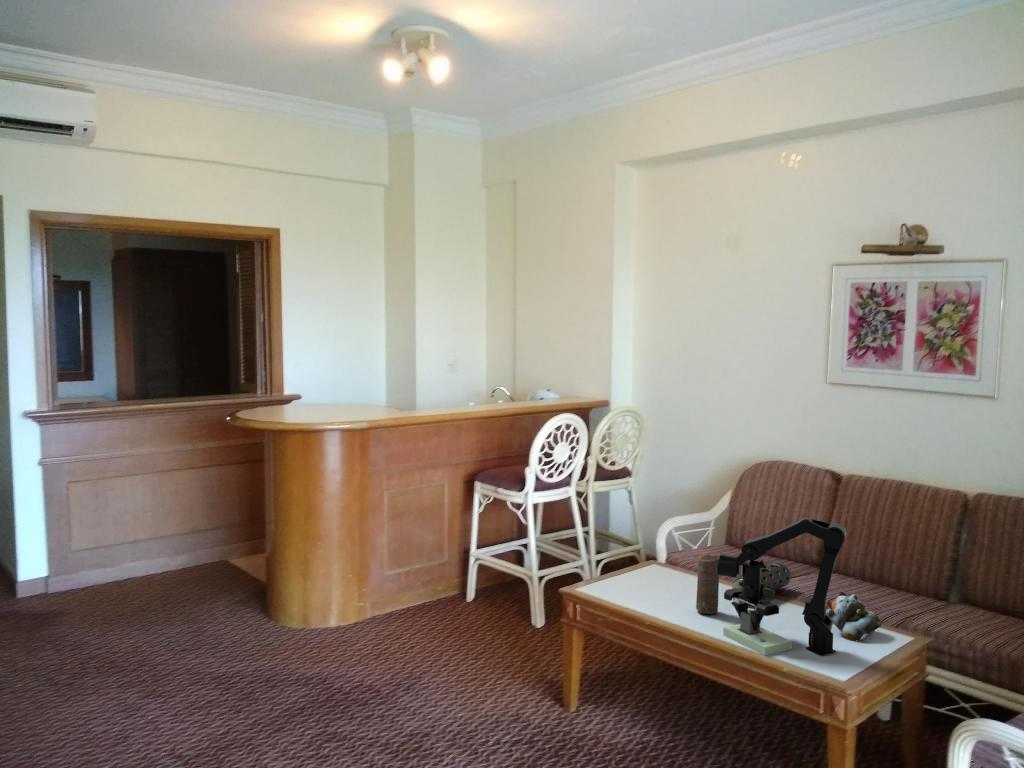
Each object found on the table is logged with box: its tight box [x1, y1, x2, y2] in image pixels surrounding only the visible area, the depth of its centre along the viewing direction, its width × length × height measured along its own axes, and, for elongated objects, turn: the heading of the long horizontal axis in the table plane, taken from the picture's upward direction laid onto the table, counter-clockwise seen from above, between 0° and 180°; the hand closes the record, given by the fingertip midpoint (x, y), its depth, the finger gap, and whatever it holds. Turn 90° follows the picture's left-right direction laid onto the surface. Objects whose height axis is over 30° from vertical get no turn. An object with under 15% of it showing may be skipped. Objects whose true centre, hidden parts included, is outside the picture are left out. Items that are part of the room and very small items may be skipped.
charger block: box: [739, 609, 761, 636], centre depth 253 cm, size 4×4×7 cm
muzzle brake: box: [731, 562, 792, 592], centre depth 293 cm, size 10×28×10 cm, turn 135°
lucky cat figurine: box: [826, 591, 883, 642], centre depth 259 cm, size 15×12×14 cm
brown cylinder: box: [695, 553, 720, 615], centre depth 276 cm, size 8×7×20 cm
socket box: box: [722, 623, 793, 656], centre depth 251 cm, size 18×11×3 cm, turn 27°
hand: (750, 628), depth 253 cm, fingers open, 4 cm apart
